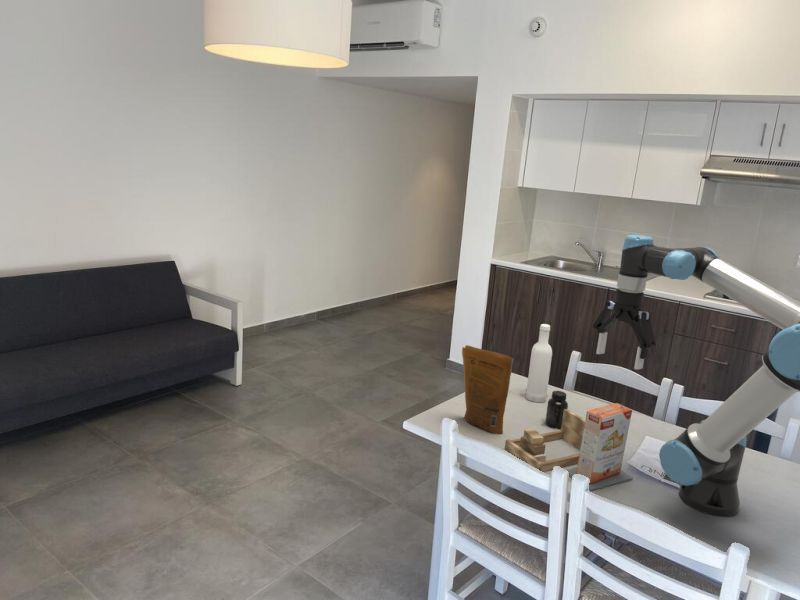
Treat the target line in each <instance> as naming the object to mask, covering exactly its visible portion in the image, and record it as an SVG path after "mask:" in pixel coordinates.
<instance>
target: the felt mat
mask: <svg viewBox="0 0 800 600" xmlns="http://www.w3.org/2000/svg"><path fill="white" fill-rule="evenodd" d="M577 467H578V466H576V467H573V468H568V469H566V470H567V471H568V472H569V476H568V477H570V478H571V479H572V476H573V475H574V474H576V473H577ZM632 480H634V478H633V476H630V475H629V474H628V473H625V472H624V471H622V470H621V471H620V473H618V474H616V475H613V476H610V477H608V478H605V479H602V480H599V481H597V482H594V483H591V484H590V483H589V490H588V491H589V492H592V491H596V490H599V489H600V490H601V489H604V488H608V487H612V486H615V485H618V484H622V483H627V482H629V481H632Z"/></svg>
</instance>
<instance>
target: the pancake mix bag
mask: <svg viewBox="0 0 800 600" xmlns="http://www.w3.org/2000/svg"><path fill="white" fill-rule="evenodd" d="M461 355H462V365H463V366H462V367H463V370H462V371H463V376H464V377H463V381H464V384H463V385H464V393H465V394H464V399H465V408H466V409H465V410H466V411H465V414H464V420H465V422H466V423H468V424H471V425H473V426H475V427H477V428H479V429H482V430H484V431H486V432H488V433H490V434H495V435H496V434H498V435H499V434H504V430H503V429H504V415H505V411H506V406H507V405H506V404H507V398H508V395H509V389H510V388H509V387H510V383H511V382H510V381H511V375H512V372H513V371H512V369H513V363H514V358H513V357H511V356H509V355H507V354H503V353H500V352H496V351H492V350H488V349H483V348H478V347H474V346H473V345H472V346H471V345H468V344H466V345H465V346H464V347H463V346H462V349H461Z"/></svg>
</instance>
